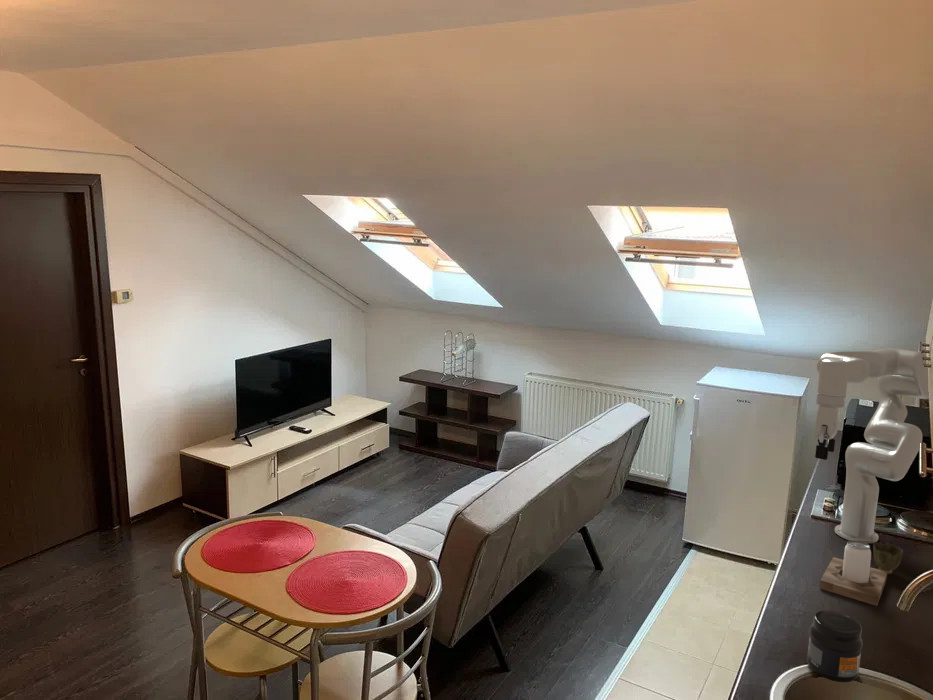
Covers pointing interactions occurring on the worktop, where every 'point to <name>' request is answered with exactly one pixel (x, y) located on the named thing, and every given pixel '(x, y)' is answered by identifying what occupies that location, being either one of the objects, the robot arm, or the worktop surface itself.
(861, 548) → the can
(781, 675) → the worktop surface
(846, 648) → the supplement container
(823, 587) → the hole plate
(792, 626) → the worktop surface
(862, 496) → the robot arm
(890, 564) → the cup
